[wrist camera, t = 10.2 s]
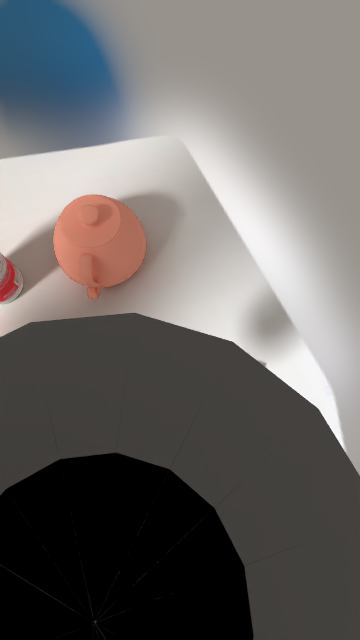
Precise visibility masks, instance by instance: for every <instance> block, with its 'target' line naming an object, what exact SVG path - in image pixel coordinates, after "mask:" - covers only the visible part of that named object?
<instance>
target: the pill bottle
mask: <svg viewBox="0 0 360 640" xmlns="http://www.w3.org/2000/svg"><path fill="white" fill-rule="evenodd" d="M22 288H23V277H22V275H21V273H20V271H19V270H18V269H17V268H16V267H15V266H14V265H13V264H12V263H11V262H10V261H9V260H8V259H7V258H5V257H4V256H3V255H2V254H1V253H0V305H4V304H7V303H9V302H11V301H13V300H14V299H15V298H17V296H18V295H19V294H20V292H21V290H22Z"/></svg>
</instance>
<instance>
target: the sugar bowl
mask: <svg viewBox="0 0 360 640" xmlns="http://www.w3.org/2000/svg"><path fill="white" fill-rule="evenodd" d="M53 244H54V250H55V254H56V258H57V260H58V263H59V265H60V266H61V268H62V269H63V271H64V272H65V273H66V274H67V275H68V276H69V277H70V278H71V279H73V280H74V281H76V282H78V283H80V284H82V285H86V286H88V291H87V295H88V297H89V298H92V299H96V298H98V296H99V294H100V288H103V287H110V286H114V285H117V284H120V283H122V282H124V281H126V280H127V279H129V278H130V277H131V276H132V275H133V274H134V273H135V272H136V271H137V270H138V269H139V267H140V266H141V264H142V262H143V260H144V257H145V253H146V237H145V233H144V229H143V227H142V225H141V223H140V221H139V220H138V218H137V217H136V215H135V214H134V213H133V212H132V211H131V210H130V209H129V208H128V207H127V206H125V205H124V204H122V203H121V202H119V201H117V200H115V199H112V198H109V197H106V196H102V195H86V196H82V197H79V198H77V199H75V200H73V201H72V202H71V203H69V204H68V205H67V206H66V208H65V209H64V210H63V212H62V213H61V215H60V217H59V218H58V221H57V223H56V226H55V230H54V237H53Z"/></svg>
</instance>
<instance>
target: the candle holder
mask: <svg viewBox="0 0 360 640" xmlns="http://www.w3.org/2000/svg"><path fill="white" fill-rule="evenodd" d="M0 640H360V476H359V474H358V473H357V471H356V469H355V468H354V466H353V464H352V463H351V461H350V459H349V458H348V456H347V455H346V453H345V451H344V450H343V448H342V446H341V445H340V443H339V442H338V440H337V438H336V437H335V435H334V433H333V432H332V430H331V429H330V427H329V425H328V424H327V422H326V420H325V419H324V417H323V416H322V414H321V412H320V411H319V409H318V408H317V407H315V406H314V405H313V404H311V403H310V402H309V401H308V400H306V399H305V398H304V397H303V396H301V395H300V394H299V393H297V392H296V391H295V390H294V389H292V388H291V387H290V386H288V385H287V384H286V383H285V382H283V381H282V380H281V379H280V378H278V377H277V376H276V375H274V374H273V373H272V372H271V371H269V370H268V369H267V368H265V367H264V366H263V365H262V364H260V363H259V362H258V361H257V360H255V359H254V358H253V357H251V356H250V355H249V354H248V353H246V352H245V351H244V350H243V349H241V348H240V347H239V346H237V345H236V344H235V343H234V342H232V341H228V340H225V339H221V338H218V337H215V336H211V335H208V334H204V333H201V332H198V331H194V330H191V329H187V328H184V327H181V326H177V325H174V324H171V323H167V322H164V321H160V320H157V319H154V318H150V317H147V316H143V315H140V314H137V313H127V314H117V315H106V316H95V317H85V318H74V319H63V320H52V321H42V322H31V323H29V324H27V325H24V326H22V327H20V328H18V329H16V330H14V331H12V332H10V333H8V334H6V335H4V336H2V337H0Z"/></svg>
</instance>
